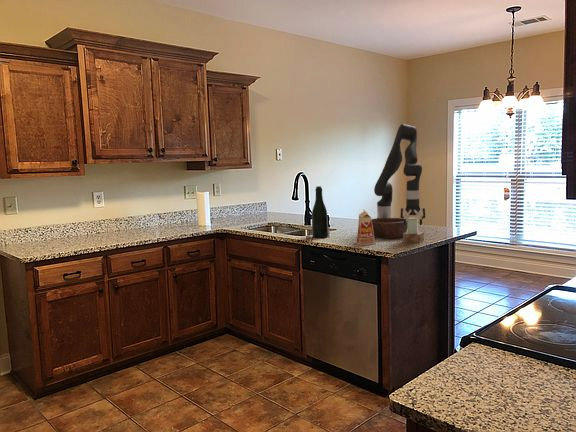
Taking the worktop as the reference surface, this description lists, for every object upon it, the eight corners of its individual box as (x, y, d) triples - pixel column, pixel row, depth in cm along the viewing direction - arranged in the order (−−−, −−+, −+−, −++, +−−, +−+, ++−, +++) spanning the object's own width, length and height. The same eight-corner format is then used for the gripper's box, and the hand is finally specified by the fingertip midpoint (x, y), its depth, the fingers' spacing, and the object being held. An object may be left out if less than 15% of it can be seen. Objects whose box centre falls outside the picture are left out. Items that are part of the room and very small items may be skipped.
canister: (407, 233, 283) (407, 219, 282) (408, 231, 289) (408, 217, 288) (417, 233, 281) (417, 219, 280) (418, 232, 287) (418, 217, 286)
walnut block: (402, 242, 284) (402, 234, 283) (407, 239, 292) (407, 231, 292) (420, 243, 279) (419, 234, 278) (424, 240, 288) (423, 232, 287)
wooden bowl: (409, 239, 292) (409, 222, 291) (368, 239, 297) (367, 223, 295) (407, 232, 316) (407, 217, 315) (368, 233, 321) (368, 217, 320)
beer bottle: (315, 235, 319) (313, 185, 316) (330, 235, 316) (328, 185, 312) (310, 238, 310) (308, 186, 306) (325, 238, 306) (324, 186, 302)
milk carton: (356, 242, 287) (355, 209, 285) (371, 241, 288) (370, 208, 285) (359, 245, 278) (358, 211, 276) (375, 244, 279) (374, 210, 276)
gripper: (400, 198, 281) (400, 226, 283) (425, 198, 277) (425, 226, 279) (400, 197, 288) (400, 224, 290) (425, 197, 284) (425, 224, 286)
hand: (412, 225), depth 285 cm, fingers open, 8 cm apart
